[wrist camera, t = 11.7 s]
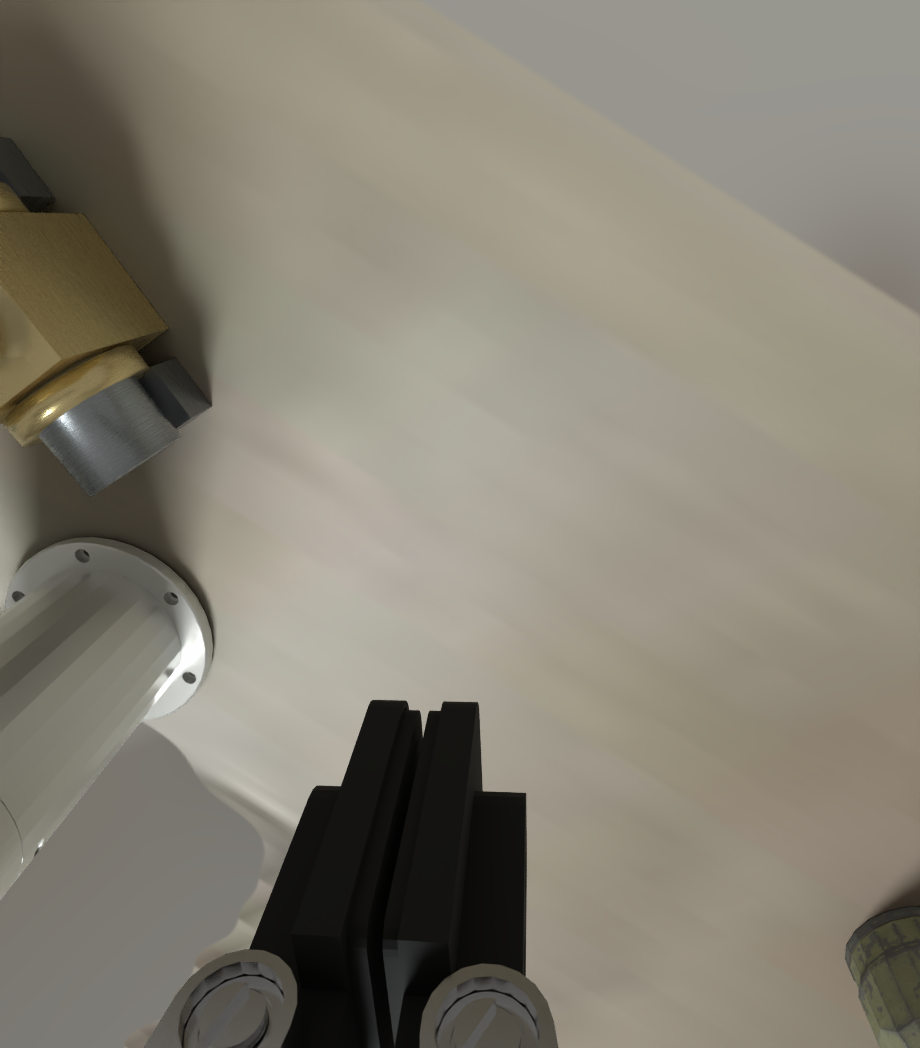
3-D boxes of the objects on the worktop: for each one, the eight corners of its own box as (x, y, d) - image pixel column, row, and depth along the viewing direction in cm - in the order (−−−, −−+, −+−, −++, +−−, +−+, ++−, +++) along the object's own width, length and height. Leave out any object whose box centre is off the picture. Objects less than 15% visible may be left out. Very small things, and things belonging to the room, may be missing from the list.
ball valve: (140, 467, 39) (36, 531, 31) (-75, 201, 35) (-262, 195, 27) (229, 406, 38) (143, 457, 29) (14, 117, 33) (-159, 82, 25)
